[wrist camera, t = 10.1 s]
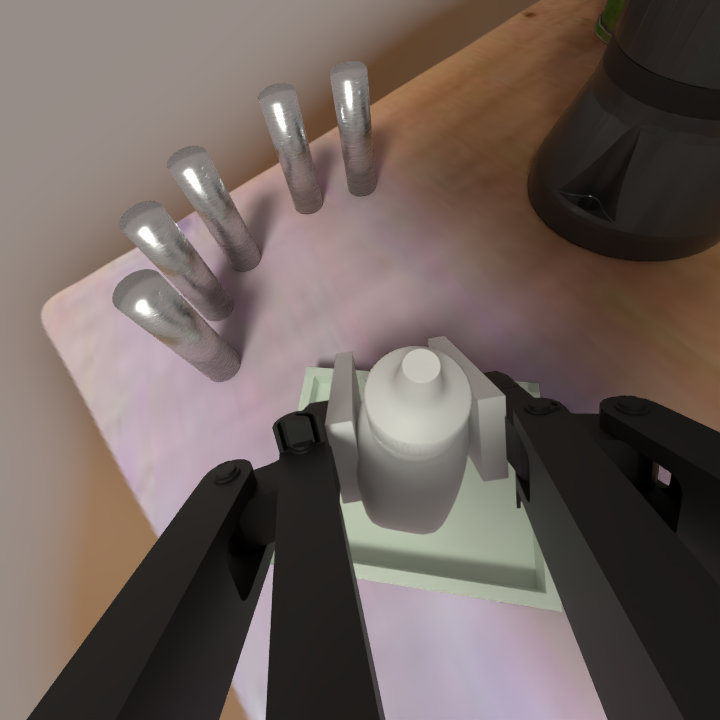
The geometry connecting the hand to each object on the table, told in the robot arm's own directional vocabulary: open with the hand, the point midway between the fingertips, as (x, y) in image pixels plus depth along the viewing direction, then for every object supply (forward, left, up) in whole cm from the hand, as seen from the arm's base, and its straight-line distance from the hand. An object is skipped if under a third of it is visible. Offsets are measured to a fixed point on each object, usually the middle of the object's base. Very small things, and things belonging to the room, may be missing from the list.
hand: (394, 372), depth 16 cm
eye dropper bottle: (-1, +4, -3) cm, 5 cm away
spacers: (+10, -12, -7) cm, 17 cm away
